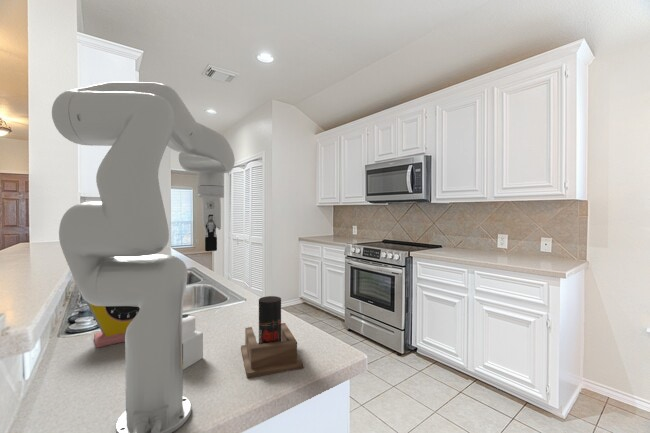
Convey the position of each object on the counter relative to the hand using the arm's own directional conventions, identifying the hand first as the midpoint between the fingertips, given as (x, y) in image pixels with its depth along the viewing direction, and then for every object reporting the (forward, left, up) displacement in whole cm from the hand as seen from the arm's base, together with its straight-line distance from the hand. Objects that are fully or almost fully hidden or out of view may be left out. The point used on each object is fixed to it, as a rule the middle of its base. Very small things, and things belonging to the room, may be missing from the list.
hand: (211, 248), depth 94 cm
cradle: (-17, -15, -28) cm, 36 cm away
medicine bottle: (-11, +7, -28) cm, 31 cm away
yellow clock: (+13, +25, -29) cm, 40 cm away
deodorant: (-17, -15, -27) cm, 36 cm away
